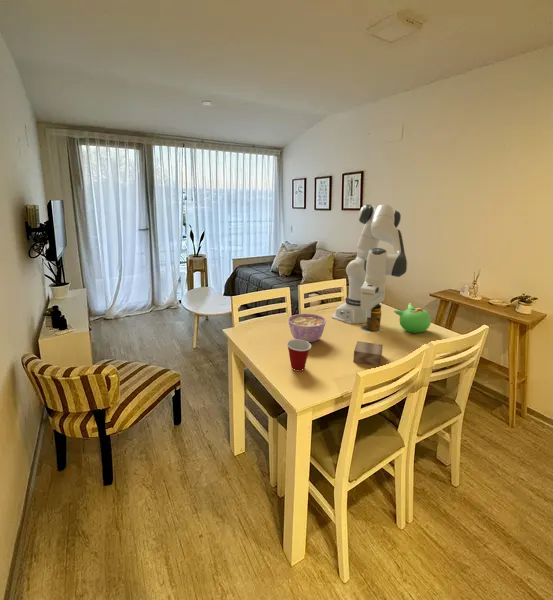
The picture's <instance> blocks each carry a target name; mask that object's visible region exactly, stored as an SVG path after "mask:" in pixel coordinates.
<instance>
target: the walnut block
mask: <svg viewBox="0 0 553 600" xmlns="http://www.w3.org/2000/svg"><path fill="white" fill-rule="evenodd" d="M383 346H384V344H380V343H373V342H366V341H362V340H361V341H360V340H357V341H356V345H355V347H354V351H353V358H352V359H353V360H352V362H353V363H355V362H358V363H357V364H362V363H363V365H368V366H369V365H370V366H375V367H381V363H382V356H383Z"/></svg>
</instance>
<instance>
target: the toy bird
mask: <svg viewBox="0 0 553 600" xmlns="http://www.w3.org/2000/svg"><path fill="white" fill-rule="evenodd" d="M393 311H394V313H395V314H396V315H398V317H399V325H400V326H401V328H402V329H404V330H405V331H406V332H408V333H412V334H413V333H414V334H417V333H422V332H424V331H427V330H428V329H429V327H430V326H431V323H432V318H431V315H430V314H429V312H428V311H427V310H426V309H424V308H420V307H414V306H413V305H412V303H411V302H409V303H408V306H407V308H406V309H405V310H397V309H395V310H393Z"/></svg>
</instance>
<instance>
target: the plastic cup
mask: <svg viewBox="0 0 553 600" xmlns="http://www.w3.org/2000/svg"><path fill="white" fill-rule="evenodd" d="M286 346H287V349H288V354H289V360H290V361H289V362H290V366H291V369H292V368H293V369H295V370H302V369H304V370H305V367H306V363H307V361H308V360H307V359H308V355H309V351H310V349H312V344H311V343H309V342H307V341H304V340H299V339H295V338H294V339H290V340H287V342H286ZM293 369H292V370H293Z"/></svg>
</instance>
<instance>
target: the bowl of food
mask: <svg viewBox="0 0 553 600" xmlns="http://www.w3.org/2000/svg"><path fill="white" fill-rule="evenodd" d="M287 321H288V325H289V328H290V329H289V330H290V333H291V335H292V337H293V338H294V339H299V340H304V341H307V342H311V343H314V342H316V341H318V340H319V339H321V337H322V335H323V332H324V329H325V327H326V322H327V320H326V318H325V317H323V316H322V315H318V314H314V313H298V314H294V315H291V316H290V317H288V318H287Z"/></svg>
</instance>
